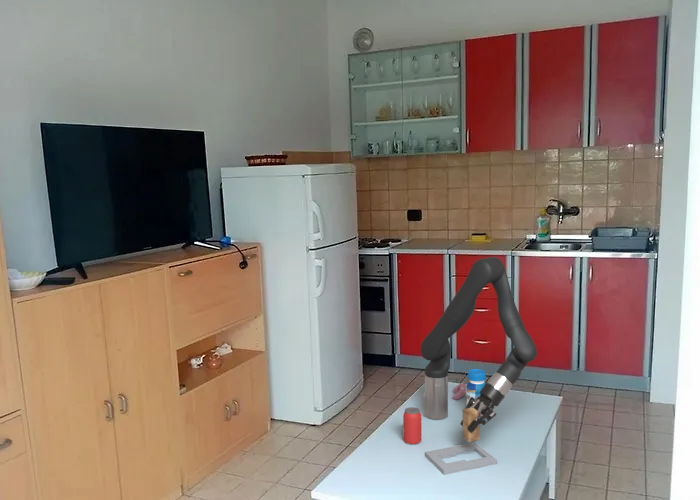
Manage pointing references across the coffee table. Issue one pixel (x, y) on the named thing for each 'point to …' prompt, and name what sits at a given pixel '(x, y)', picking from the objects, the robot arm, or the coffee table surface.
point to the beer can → (412, 425)
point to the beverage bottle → (475, 384)
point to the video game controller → (459, 391)
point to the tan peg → (468, 417)
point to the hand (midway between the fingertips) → (465, 428)
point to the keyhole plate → (461, 465)
